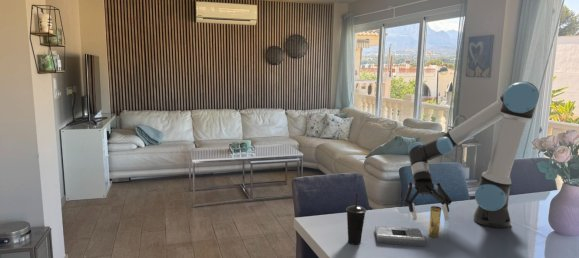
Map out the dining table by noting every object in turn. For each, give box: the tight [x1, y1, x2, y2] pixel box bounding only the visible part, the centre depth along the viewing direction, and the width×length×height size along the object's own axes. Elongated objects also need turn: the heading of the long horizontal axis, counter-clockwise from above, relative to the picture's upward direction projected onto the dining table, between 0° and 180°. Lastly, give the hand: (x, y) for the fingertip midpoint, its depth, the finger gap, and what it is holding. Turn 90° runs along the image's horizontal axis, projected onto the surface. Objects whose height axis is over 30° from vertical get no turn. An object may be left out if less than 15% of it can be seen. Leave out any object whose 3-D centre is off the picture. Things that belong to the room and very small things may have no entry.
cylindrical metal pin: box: [428, 205, 442, 238], centre depth 172 cm, size 4×4×12 cm
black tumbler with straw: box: [345, 192, 367, 246], centre depth 162 cm, size 8×8×20 cm
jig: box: [374, 225, 426, 247], centre depth 168 cm, size 18×12×3 cm, turn 83°
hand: (431, 219), depth 173 cm, fingers open, 13 cm apart
